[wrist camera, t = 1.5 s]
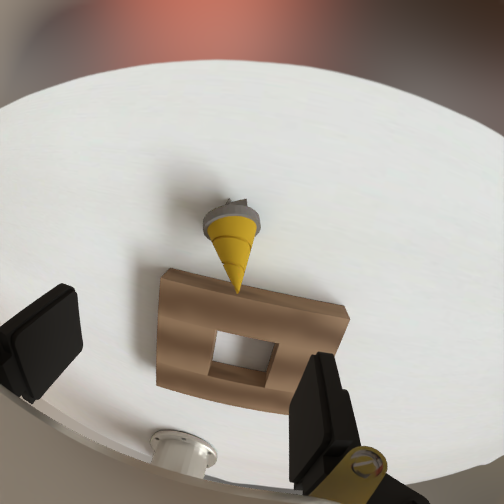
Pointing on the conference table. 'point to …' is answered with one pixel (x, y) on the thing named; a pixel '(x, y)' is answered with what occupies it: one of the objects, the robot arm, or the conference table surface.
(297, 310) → the holder block
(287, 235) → the conference table surface
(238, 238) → the drill bit
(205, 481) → the robot arm
